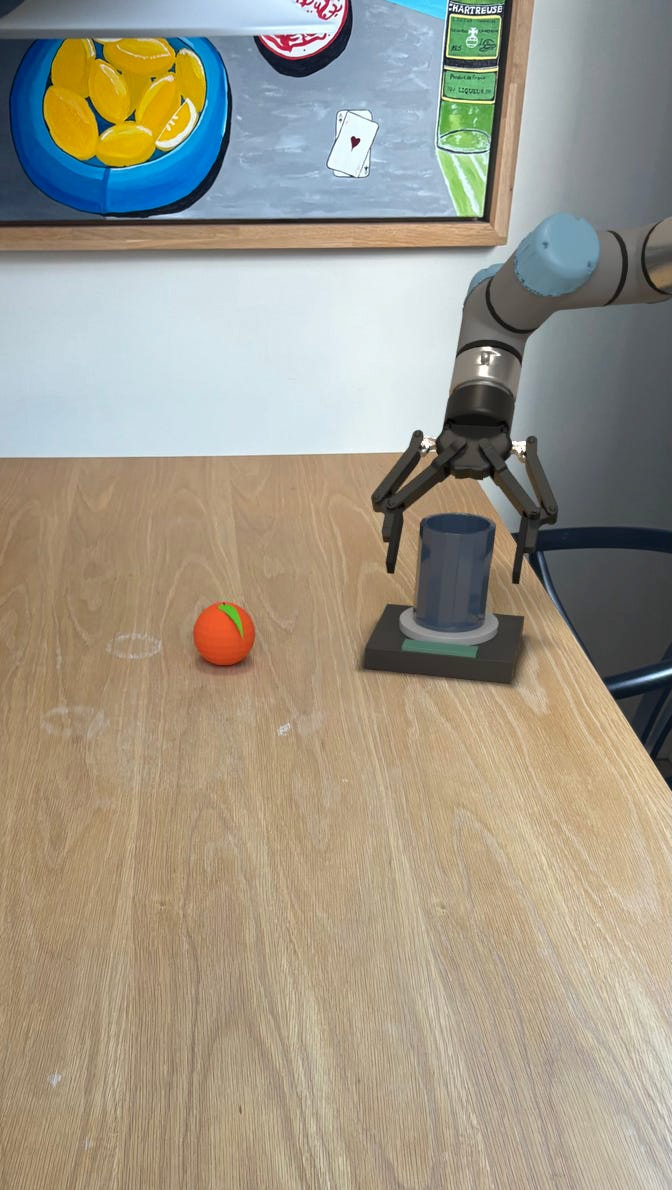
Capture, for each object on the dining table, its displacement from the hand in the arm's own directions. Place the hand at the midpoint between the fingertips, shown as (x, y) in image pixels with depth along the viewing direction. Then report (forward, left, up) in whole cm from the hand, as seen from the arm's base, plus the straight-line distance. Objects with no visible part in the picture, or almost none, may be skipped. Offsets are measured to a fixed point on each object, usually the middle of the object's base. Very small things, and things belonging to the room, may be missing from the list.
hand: (451, 573), depth 134 cm
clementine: (+23, +9, -10) cm, 27 cm away
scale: (0, -1, -10) cm, 10 cm away
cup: (0, -2, -6) cm, 6 cm away
